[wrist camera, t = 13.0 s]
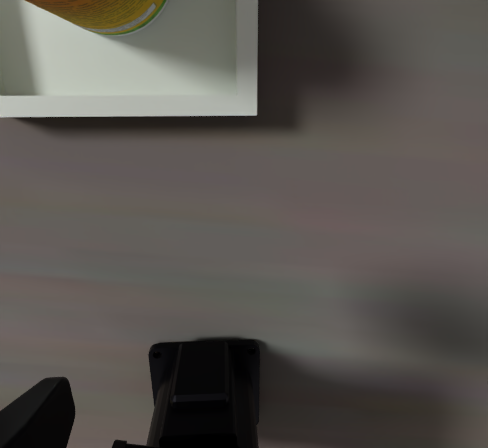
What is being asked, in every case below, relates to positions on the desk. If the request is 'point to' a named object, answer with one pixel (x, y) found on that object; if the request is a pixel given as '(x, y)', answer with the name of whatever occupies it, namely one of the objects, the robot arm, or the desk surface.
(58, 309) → the desk surface
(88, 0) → the supplement bottle
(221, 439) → the robot arm
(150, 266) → the desk surface
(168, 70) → the tray
